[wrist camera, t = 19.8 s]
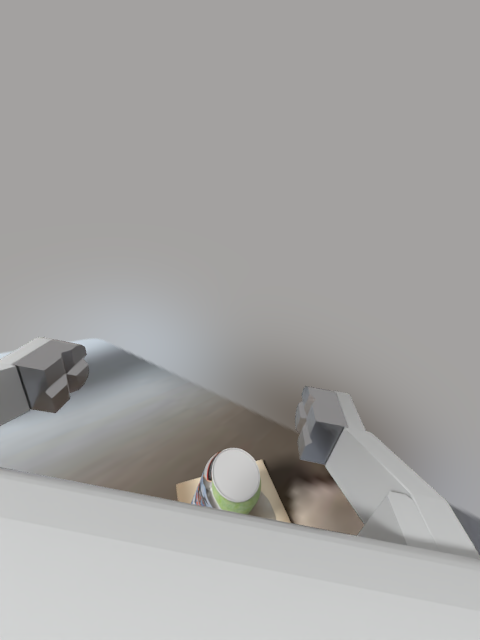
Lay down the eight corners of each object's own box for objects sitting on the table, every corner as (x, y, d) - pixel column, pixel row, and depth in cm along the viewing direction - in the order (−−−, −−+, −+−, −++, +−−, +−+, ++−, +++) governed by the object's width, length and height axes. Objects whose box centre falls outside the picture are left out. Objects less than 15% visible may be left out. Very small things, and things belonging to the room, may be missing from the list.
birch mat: (196, 630, 23) (196, 628, 22) (176, 486, 33) (176, 484, 33) (309, 569, 28) (311, 567, 27) (261, 461, 38) (261, 459, 38)
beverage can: (205, 484, 33) (214, 424, 28) (254, 516, 31) (274, 456, 26) (175, 533, 28) (179, 471, 23) (230, 576, 26) (250, 518, 20)
